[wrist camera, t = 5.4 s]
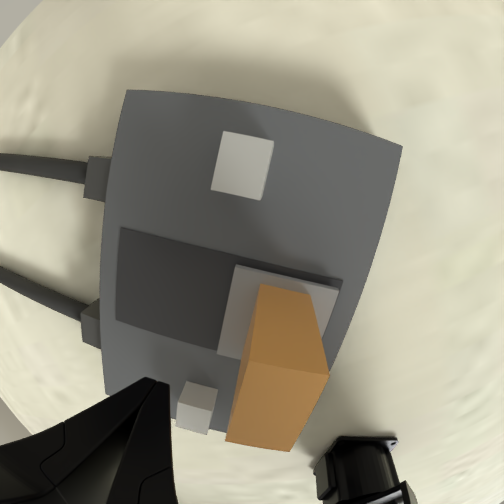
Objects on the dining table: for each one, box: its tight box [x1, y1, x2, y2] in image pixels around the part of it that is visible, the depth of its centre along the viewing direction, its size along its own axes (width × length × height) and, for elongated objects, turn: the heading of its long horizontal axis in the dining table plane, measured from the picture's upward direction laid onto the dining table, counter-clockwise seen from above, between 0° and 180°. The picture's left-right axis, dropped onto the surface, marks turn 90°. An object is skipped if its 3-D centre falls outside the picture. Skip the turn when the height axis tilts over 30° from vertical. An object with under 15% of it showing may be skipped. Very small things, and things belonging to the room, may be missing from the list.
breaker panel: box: [80, 90, 403, 435], centre depth 15 cm, size 16×20×5 cm
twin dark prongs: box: [0, 153, 90, 322], centre depth 17 cm, size 15×11×1 cm
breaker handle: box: [217, 264, 339, 452], centre depth 11 cm, size 5×5×6 cm
